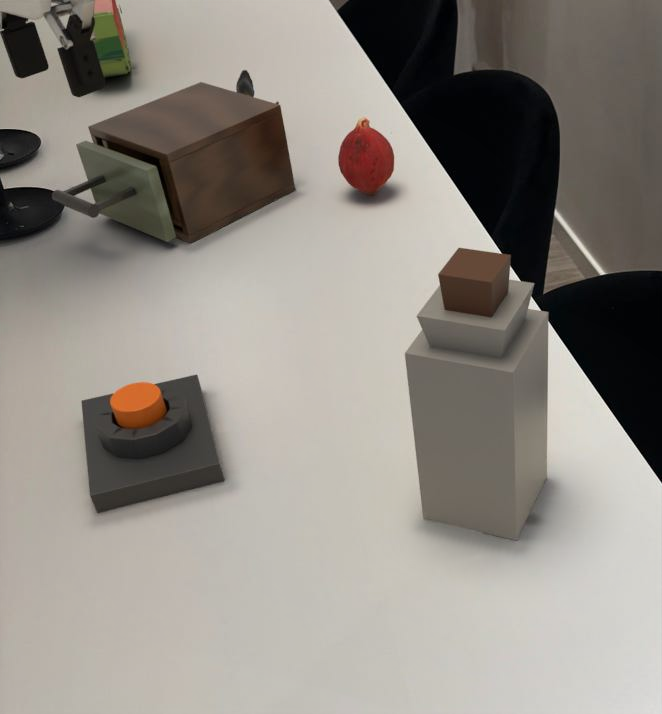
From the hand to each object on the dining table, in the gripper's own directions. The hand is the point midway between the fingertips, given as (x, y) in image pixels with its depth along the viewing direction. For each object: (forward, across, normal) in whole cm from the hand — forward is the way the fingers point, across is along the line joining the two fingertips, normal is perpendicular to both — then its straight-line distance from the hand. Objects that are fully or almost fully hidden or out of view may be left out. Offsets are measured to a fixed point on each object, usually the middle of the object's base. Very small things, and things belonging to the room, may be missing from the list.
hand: (60, 81), depth 87 cm
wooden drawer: (+15, 0, +6) cm, 16 cm away
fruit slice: (+16, -46, +33) cm, 59 cm away
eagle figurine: (+16, -10, +27) cm, 33 cm away
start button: (+13, +30, -18) cm, 37 cm away
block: (+16, +30, -18) cm, 39 cm away
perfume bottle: (+16, +54, -8) cm, 57 cm away
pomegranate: (+16, +14, +23) cm, 31 cm away
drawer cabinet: (+16, 0, +12) cm, 20 cm away
